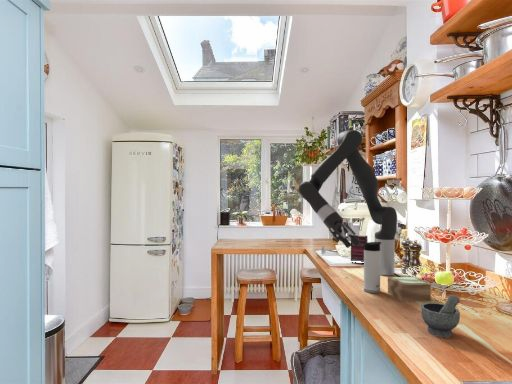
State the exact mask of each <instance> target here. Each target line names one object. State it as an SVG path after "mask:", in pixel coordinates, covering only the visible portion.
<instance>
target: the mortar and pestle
mask: <svg viewBox="0 0 512 384" xmlns="http://www.w3.org/2000/svg"><path fill="white" fill-rule="evenodd" d="M460 302H461V301H460V298H459V297H458V295H457V296H456V295H455V294H449V295H448V296H447V299H446V302H445V303H444V304H443V303H440V302H426V303H421V304H420V310H421V311H420V312H421V317H422V320H423V321H424V323H425V325H427V333H429V334H430V335H432V336H435V337H440V338H450V337H453V331H452V330H454V329H455V328H457V326H458V325H459V323H460V317H461V316H460V315H461V313H460V310H459V308H457V306H458V304H459V303H460Z"/></svg>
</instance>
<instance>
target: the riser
mask: <svg viewBox="0 0 512 384" xmlns="http://www.w3.org/2000/svg"><path fill="white" fill-rule="evenodd" d="M431 286H432V285H431V284H430V283H428V282H427V281H425V280H422V279H419V278H417V277H415V276H403V277H402V276H401V277H400V276H398V277H397V276H395V277H391V276H390V277H389V276H388V277H387V293H388V294H389V295H392V296H393V297H394V298H396V299H397V300H399V301H400V302H428V301H429V302H432V301H431V300H432V294H431V293H432V290H431V288H432V287H431Z"/></svg>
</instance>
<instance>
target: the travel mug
mask: <svg viewBox="0 0 512 384" xmlns="http://www.w3.org/2000/svg"><path fill="white" fill-rule="evenodd" d="M380 244H381V242H375V241H368V243H365V244H364V264H363V291H364V292H365V293H369V294H379V293H380V292H381V275H380Z"/></svg>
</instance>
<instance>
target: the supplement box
mask: <svg viewBox="0 0 512 384" xmlns="http://www.w3.org/2000/svg"><path fill="white" fill-rule="evenodd" d="M355 237H356V238H357V239H358V240H359V242H360V244H359V245H357V246H356V245H355V244H354V243H353V242H352V241H351V240H350V243H351V246H350V262H351V261H361V262H364V244H365V243H368V242H369V241H368V239H369V238H368V235H363V234H362V235H361V234H359V235H358V234H355Z"/></svg>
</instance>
